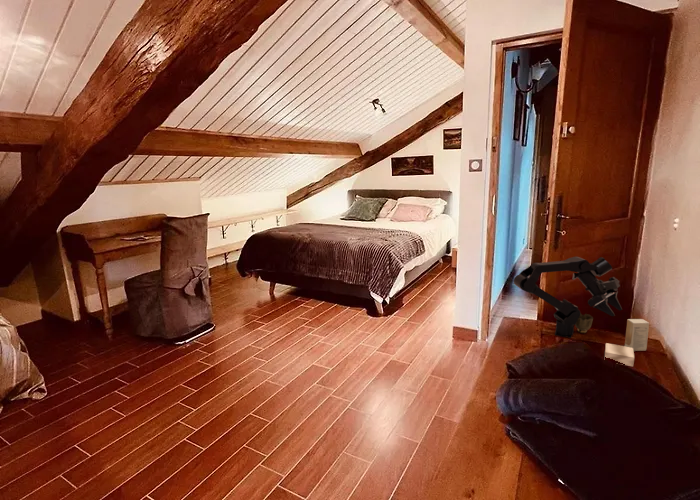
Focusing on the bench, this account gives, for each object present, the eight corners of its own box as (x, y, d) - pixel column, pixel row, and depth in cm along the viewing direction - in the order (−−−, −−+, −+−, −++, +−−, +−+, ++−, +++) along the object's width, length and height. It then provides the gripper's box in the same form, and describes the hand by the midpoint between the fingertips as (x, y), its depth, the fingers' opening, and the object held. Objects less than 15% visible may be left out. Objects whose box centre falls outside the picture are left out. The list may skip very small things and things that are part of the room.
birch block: (604, 361, 151) (605, 352, 150) (604, 352, 159) (605, 343, 158) (633, 367, 146) (634, 357, 146) (631, 357, 154) (633, 348, 153)
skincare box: (639, 346, 162) (643, 318, 159) (646, 351, 158) (650, 322, 155) (623, 346, 163) (626, 318, 160) (629, 350, 158) (633, 322, 156)
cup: (591, 330, 178) (593, 314, 176) (591, 337, 172) (593, 320, 170) (573, 327, 182) (574, 311, 180) (572, 333, 176) (573, 316, 174)
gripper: (599, 276, 157) (628, 309, 151) (614, 267, 169) (642, 297, 163) (576, 290, 165) (603, 322, 159) (592, 281, 177) (618, 310, 171)
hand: (617, 312), depth 163 cm, fingers open, 9 cm apart
